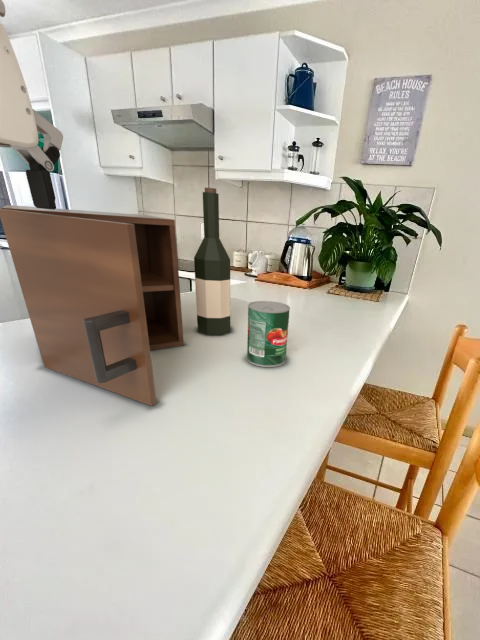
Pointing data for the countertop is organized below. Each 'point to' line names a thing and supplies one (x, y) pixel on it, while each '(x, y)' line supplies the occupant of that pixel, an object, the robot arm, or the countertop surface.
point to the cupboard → (147, 269)
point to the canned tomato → (267, 333)
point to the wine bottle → (212, 273)
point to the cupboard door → (84, 298)
